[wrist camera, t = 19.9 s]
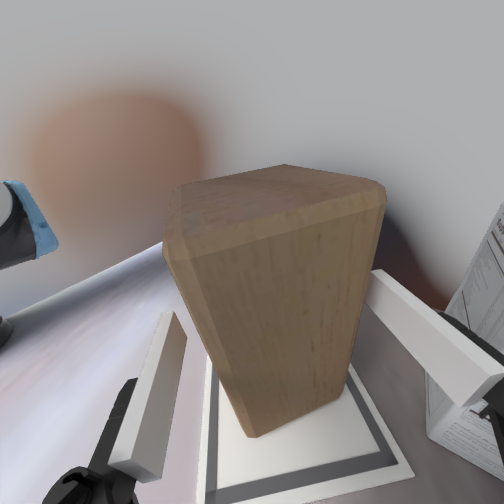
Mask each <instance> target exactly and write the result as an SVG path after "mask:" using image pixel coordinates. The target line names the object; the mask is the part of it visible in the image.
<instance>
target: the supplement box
mask: <svg viewBox="0 0 504 504" xmlns="http://www.w3.org/2000/svg"><path fill="white" fill-rule="evenodd" d="M444 313H445V314H447V315H449V316H451V317H453V318H455V319H457V320H458V321H460V322H461V323H462V324H464V325H465V326H466V327H468V329H469V330H472V331H473V332H474V333H476V334H477V335H478V337H481V338H482V339H483V340H485V341H486V342H487V343H489V344H490V345H491V346H493V347H494V348H495V349H497V350H498V351H499V352H501V353H502V354H503V355H504V202H503V203H502V204H501V206H500V208H499V210H498V212H497V213H496V215H495V217H494V219H493V221H492V223H491V225H490V227H489V229H488V231H487V233H486V235H485V236H484V238H483V240H482V242H481V244H480V246H479V248H478V250H477V252H476V254H475V256H474V258H473V260H472V262H471V263H470V266H469V268H468V270H467V272H466V274H465V276H464V278H463V280H462V282H461V285H460V286H459V288H458V290H457V291H456V293H455V294H454V296H453V297H452V299H451V301H450V303H449V305H448V306H447V308H446V310H445V312H444ZM425 384H426V433H427V437H428V438H429V439H431V440H433V441H434V442H436V443H438V444H440V445H441V446H443V447H445V448H447V449H448V450H450V451H452V452H454V453H455V454H457V455H459V456H461V457H462V458H464V459H466V460H467V461H469V462H471V463H473V464H474V465H476V466H478V467H480V468H481V469H483V470H485V471H487V472H488V473H490V474H492V475H494V476H495V477H497V478H499V479H501V480H502V481H504V466H503V462H502V459H501V456H500V452H499V449H498V445H497V442H496V438H495V435H494V431H493V428H492V425H491V423H490V422H488V420H489V419H490V418H489V415H487V416H486V417H485V418H484V419H481V418H479V412H481V411H482V410H483V409H484V408H485V407H486V406H487V405H488V403H487V402H486V401H485V400H484V399H483V398H482V399H481V400H480V401H479V402H478V403H477V404H476V405H472V406H467V407H463V408H459V407H458V406H457V405H456V404H455V403H454V402H453V401H452V399H451V398H450V397H449V396H448V395H447V394H446V393H445V392H444V390H443V389H442V388H441V387H440V386H439V385H438V384H437V383H436V381H435V380H434V379H433V378H432V377H431V376H430V375H429V374H428V372H427V371H426V370H425Z"/></svg>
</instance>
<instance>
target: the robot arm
mask: <svg viewBox="0 0 504 504" xmlns="http://www.w3.org/2000/svg"><path fill="white" fill-rule="evenodd" d="M58 246H59V242H58V240H57V238H56V236H55V234H54V233H53V231H52V229H51V228H50V226H49V225H48V223H47V221H46V219H45V218H44V216H43V214H42V213H41V211H40V209H39V208H38V206H37V204H36V203H35V201H34V199H33V198H32V196H31V194H30V193H29V191H28V189H27V188H26V186H25V185H24V184H23V183H22V182H19V181H8V180H6V181H0V270H3V269H5V268H8V267H11V266H14V265H17V264H19V263H23V262H26V261H29V260H35V259H38V258H39V257H40V256H43V255H45V254H48V253H50V252H53V251H55V250H56V249H57V248H58ZM364 302H365V303H366V304H367V305H368V306H369V307H370V308H371V310H372V311H373V312H374V313H375V314H376V315H377V316H378V317H379V319H380V320H381V321H382V322H383V323H384V324H385V325H386V326H387V328H388V329H389V330H390V331H391V332H392V333H393V334H394V335H395V337H396V338H397V339H398V340H399V341H400V342H401V343H402V344H403V346H404V347H405V348H406V349H407V350H408V351H409V352H410V353H411V355H412V356H413V357H414V358H415V359H416V360H417V361H418V362H419V363H420V365H421V366H422V367H423V368H424V369H425V370H426V371H427V372H428V374H429V375H430V376H431V377H432V378H433V379H434V380H435V381H436V383H437V384H438V385H439V386H440V387H441V388H442V389H443V390H444V392H445V393H446V394H447V395H448V396H449V397H450V398H451V399H452V401H453V402H454V403H455V404H456V405H457V406H458V407H459V408H463V407H467V406H472V405H476V404H477V403H478V402H479V401H480V400H481V399H482V398H483V399H484V400H485V401H486V402H487V403H488V405H487V406H486V407H485V408H484V409H483V410H482V411H481V412H479V418H481V419H484V418H485V417H486V416H487V415H489V418H490V419H489V420H488V422H490V423H491V425H492V428H493V431H494V435H495V438H496V442H497V445H498V449H499V452H500V456H501V459H502V462H503V466H504V355H503V354H502V353H501V352H499V351H498V350H497V349H495V348H494V347H493V346H491V345H490V344H489V343H487V342H486V341H485V340H483V339H482V338H481V337H478V335H477V334H476V333H474V332H473V331H472V330H469V329H468V327H466V326H465V325H464V324H462V323H461V322H460V321H458V320H457V319H455V318H453V317H451V316H449V315H447V314H445V313H443V312H440V313H436V312H435V311H433V310H432V309H431V308H430V307H428V306H427V305H426V304H424V303H423V302H422V301H421V300H419V299H418V298H417V297H415V296H414V295H413V294H412V293H410V292H409V291H408V290H407V289H406V288H404V287H403V286H402V285H401V284H399V283H398V282H397V281H396V280H394V279H393V278H392V277H391V276H389V275H388V274H387V273H385V272H384V271H383V270H382V269H379V270H374V271H371V273H370V278H369V282H368V286H367V291H366V295H365V299H364ZM12 330H13V326H12V325H11V324H10V323H9V322H8V321H7V320H6V319H4V318H3V317H2V316H0V347H1V346H2V345H3V344H4V343H5V342H6V340H7V339H8V338H9V336H10V335H11V333H12ZM186 342H187V336H186V334H185V332H184V330H183V328H182V326H181V324H180V322H179V320H178V318H177V316H176V314H175V312H174V311H170V312H165V313H162V314H161V317H160V319H159V322H158V325H157V328H156V330H155V333H154V336H153V339H152V342H151V344H150V347H149V350H148V353H147V355H146V358H145V361H144V364H143V367H142V369H141V372H140V375H139V378H134V379H129V380H128V381H127V382H126V383H125V385H124V386H123V388H122V389H121V390H120V392H119V394H118V396H117V399H116V401H115V403H114V408H112V411H111V413H110V415H109V420H107V423H106V425H105V427H104V430H103V432H102V435H101V437H100V439H99V442H98V444H97V447H96V449H95V451H94V454H93V456H92V459H91V461H90V463H89V466H88V468H85V467H81V466H78V467H76V468H73V469H71V470H69V471H68V472H67V473H65V474H64V475H63V476H61V478H60V479H59V480H58V481H57V482H56V483H55V484H54V485H53V486H52V488H51V489H50V491H49V492H48V494H47V495H46V497H45V498H44V500H43V502H42V504H139V503H138V500H137V497H136V494H135V493H134V488H135V484H136V480H137V481H139V482H141V483H147V482H151V481H155V480H159V479H161V478H162V473H163V467H164V462H165V456H166V451H167V445H168V440H169V434H170V429H171V424H172V418H173V413H174V407H175V402H176V396H177V391H178V386H179V380H180V375H181V369H182V364H183V358H184V353H185V347H186Z"/></svg>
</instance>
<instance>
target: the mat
mask: <svg viewBox="0 0 504 504" xmlns="http://www.w3.org/2000/svg"><path fill="white" fill-rule="evenodd" d="M414 477H415V474H414V473H413V471H412V469H411V467H410V466H409V464H408V462H407V460H406V459H405V457H404V455H403V453H402V452H401V450H400V448H399V446H398V445H397V443H396V441H395V439H394V438H393V436H392V434H391V432H390V431H389V429H388V427H387V425H386V424H385V422H384V420H383V418H382V417H381V415H380V413H379V412H378V410H377V408H376V406H375V405H374V403H373V401H372V399H371V398H370V396H369V394H368V392H367V391H366V389H365V387H364V385H363V384H362V382H361V380H360V378H359V377H358V375H357V373H356V371H355V370H354V368H353V366H352V364H351V363H350V364H349V369H348V373H347V378H346V382H345V386H344V391H343V392H342V394H341V395H340V397H339V398H337V399H335V400H333V401H331V402H329V403H327V404H325V405H323V406H321V407H319V408H317V409H315V410H313V411H311V412H309V413H307V414H305V415H303V416H301V417H299V418H297V419H295V420H293V421H291V422H289V423H287V424H285V425H283V426H281V427H279V428H277V429H275V430H272V431H270V432H268V433H266V434H264V435H262V436H260V437H258V438H247V436H246V434H245V433H244V431H243V430H242V428H241V426H240V423H239V421H238V419H237V417H236V415H235V412H234V410H233V408H232V406H231V404H230V401H229V399H228V397H227V395H226V393H225V390H224V388H223V386H222V384H221V382H220V379H219V377H218V375H217V373H216V371H215V368H214V366H213V364H212V362H211V360H210V357H209V355H208V353H207V366H206V378H205V391H204V404H203V416H202V429H201V442H200V454H199V467H198V480H197V492H196V504H306V503H310V502H314V501H318V500H323V499H327V498H331V497H335V496H339V495H343V494H347V493H352V492H356V491H360V490H364V489H368V488H372V487H377V486H381V485H385V484H389V483H393V482H397V481H401V480H406V479H410V478H414Z"/></svg>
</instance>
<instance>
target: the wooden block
mask: <svg viewBox="0 0 504 504" xmlns="http://www.w3.org/2000/svg"><path fill="white" fill-rule="evenodd" d="M386 204H387V196H386V191H385V187H384V186H382V185H381V184H379V183H378V182H376V181H373V180H370V179H366V178H362V177H356V176H350V175H344V174H338V173H332V172H327V171H321V170H315V169H309V168H302V167H297V166H291V165H286V164H283V165H278V166H273V167H269V168H263V169H258V170H254V171H248V172H243V173H239V174H234V175H229V176H224V177H219V178H214V179H209V180H204V181H199V182H194V183H190V184H184V185H181V186H179V187H178V188H177V189H175V190H174V191H173V192H172V197H171V201H170V206H169V210H168V215H167V219H166V224H165V229H164V233H163V249H162V254H163V256H164V258H165V261H166V263H167V265H168V267H169V269H170V272H171V274H172V276H173V278H174V280H175V283H176V285H177V287H178V289H179V291H180V294H181V296H182V298H183V300H184V302H185V305H186V307H187V309H188V311H189V313H190V316H191V318H192V320H193V322H194V324H195V327H196V329H197V331H198V333H199V335H200V338H201V340H202V342H203V344H204V346H205V349H206V351H207V353H208V355H209V357H210V360H211V362H212V364H213V366H214V368H215V371H216V373H217V375H218V377H219V379H220V382H221V384H222V386H223V388H224V390H225V393H226V395H227V397H228V399H229V401H230V404H231V406H232V408H233V410H234V412H235V415H236V417H237V419H238V421H239V423H240V426H241V428H242V430H243V431H244V433H245V434H246V436H247V438H258V437H260V436H262V435H264V434H266V433H268V432H270V431H272V430H275V429H277V428H279V427H281V426H283V425H285V424H287V423H289V422H291V421H293V420H295V419H297V418H299V417H301V416H303V415H305V414H307V413H309V412H311V411H313V410H315V409H317V408H319V407H321V406H323V405H325V404H327V403H329V402H331V401H333V400H335V399H337V398H339V397H340V395H341V394H342V392H343V391H344V386H345V382H346V378H347V373H348V369H349V364H350V360H351V356H352V351H353V347H354V343H355V338H356V334H357V330H358V325H359V321H360V317H361V312H362V308H363V304H364V299H365V295H366V291H367V286H368V282H369V278H370V273H371V268H372V265H373V260H374V256H375V252H376V247H377V243H378V238H379V234H380V230H381V225H382V221H383V217H384V212H385V207H386Z"/></svg>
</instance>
